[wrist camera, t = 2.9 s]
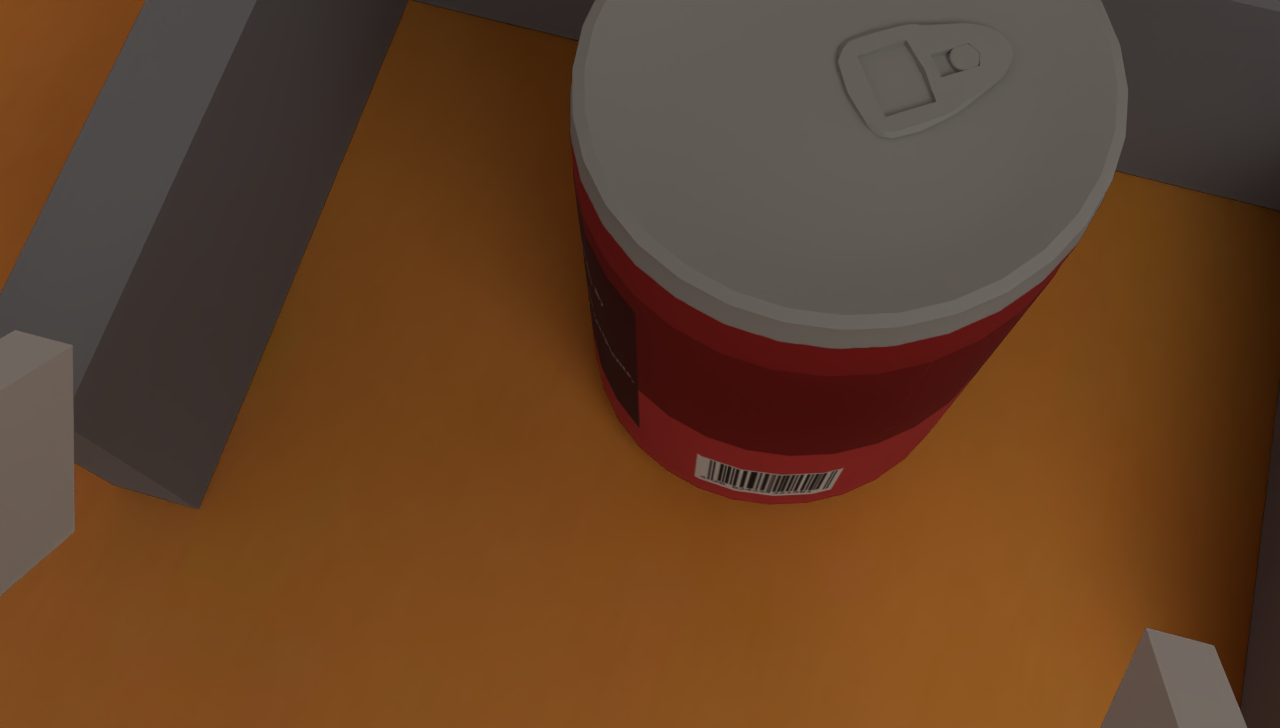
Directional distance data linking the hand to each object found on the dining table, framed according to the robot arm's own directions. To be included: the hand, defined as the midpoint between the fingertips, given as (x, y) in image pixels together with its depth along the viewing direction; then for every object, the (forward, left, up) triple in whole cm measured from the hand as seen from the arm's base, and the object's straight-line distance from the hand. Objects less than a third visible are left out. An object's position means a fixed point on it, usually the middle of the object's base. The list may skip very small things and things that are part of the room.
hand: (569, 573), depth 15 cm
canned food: (-2, -8, -11) cm, 14 cm away
